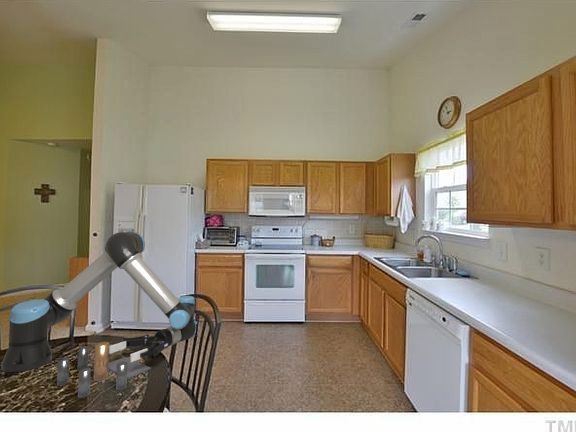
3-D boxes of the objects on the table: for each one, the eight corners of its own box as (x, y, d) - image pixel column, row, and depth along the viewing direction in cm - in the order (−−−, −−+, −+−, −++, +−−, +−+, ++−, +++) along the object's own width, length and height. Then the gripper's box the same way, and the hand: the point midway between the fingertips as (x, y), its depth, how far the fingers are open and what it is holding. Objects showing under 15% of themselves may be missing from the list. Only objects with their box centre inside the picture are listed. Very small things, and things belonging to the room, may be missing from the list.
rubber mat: (101, 366, 119) (102, 365, 119) (124, 358, 127) (124, 357, 127) (128, 378, 111) (128, 377, 111) (150, 369, 118) (150, 367, 118)
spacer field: (47, 379, 109) (48, 356, 109) (84, 366, 119) (85, 345, 120) (90, 404, 94) (91, 377, 95) (128, 387, 105) (129, 363, 105)
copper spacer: (90, 378, 110) (92, 344, 110) (103, 373, 114) (105, 340, 114) (97, 382, 108) (99, 347, 108) (110, 377, 111) (111, 343, 112)
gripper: (187, 352, 128) (140, 372, 110) (148, 340, 141) (100, 356, 122) (187, 334, 128) (140, 351, 110) (149, 323, 141) (101, 337, 123)
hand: (119, 354), depth 116 cm, fingers open, 13 cm apart
